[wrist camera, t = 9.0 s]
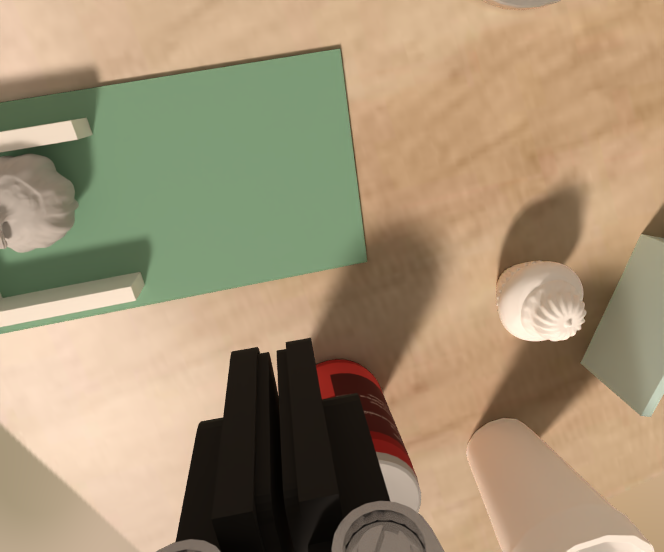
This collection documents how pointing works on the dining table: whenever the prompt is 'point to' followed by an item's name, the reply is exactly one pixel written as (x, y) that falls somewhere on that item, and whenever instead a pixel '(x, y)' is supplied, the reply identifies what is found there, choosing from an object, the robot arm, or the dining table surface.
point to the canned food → (374, 426)
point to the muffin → (540, 301)
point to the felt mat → (198, 182)
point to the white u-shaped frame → (72, 295)
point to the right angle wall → (634, 331)
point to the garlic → (33, 203)
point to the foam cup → (543, 496)
